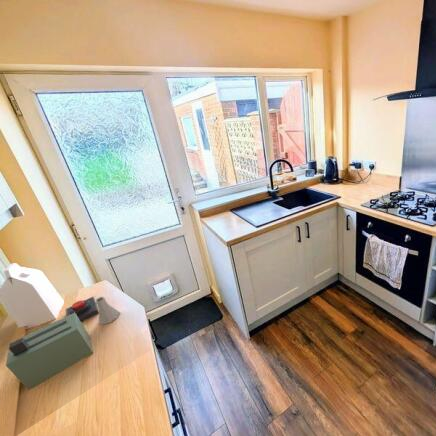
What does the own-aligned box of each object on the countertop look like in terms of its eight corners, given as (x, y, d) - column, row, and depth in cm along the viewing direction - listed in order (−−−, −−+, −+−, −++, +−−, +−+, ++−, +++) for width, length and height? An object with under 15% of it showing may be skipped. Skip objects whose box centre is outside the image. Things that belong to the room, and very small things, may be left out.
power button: (73, 307, 105) (71, 304, 104) (84, 302, 107) (82, 298, 106) (74, 311, 102) (72, 308, 101) (85, 306, 104) (83, 303, 104)
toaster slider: (16, 351, 76) (9, 343, 74) (29, 345, 78) (22, 337, 76) (15, 356, 74) (8, 348, 73) (28, 349, 76) (22, 341, 74)
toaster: (30, 366, 84) (9, 342, 79) (89, 335, 94) (74, 312, 89) (28, 390, 77) (5, 365, 72) (93, 353, 87) (77, 328, 82)
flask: (95, 323, 100) (84, 305, 96) (110, 310, 106) (100, 292, 102) (109, 325, 98) (98, 306, 94) (124, 311, 104) (114, 293, 100)
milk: (32, 312, 110) (-2, 264, 99) (64, 301, 115) (34, 255, 104) (21, 331, 100) (-20, 280, 89) (56, 318, 105) (21, 269, 94)
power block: (68, 312, 107) (63, 305, 106) (95, 300, 113) (91, 293, 112) (69, 327, 99) (64, 320, 97) (99, 313, 105) (95, 306, 103)
